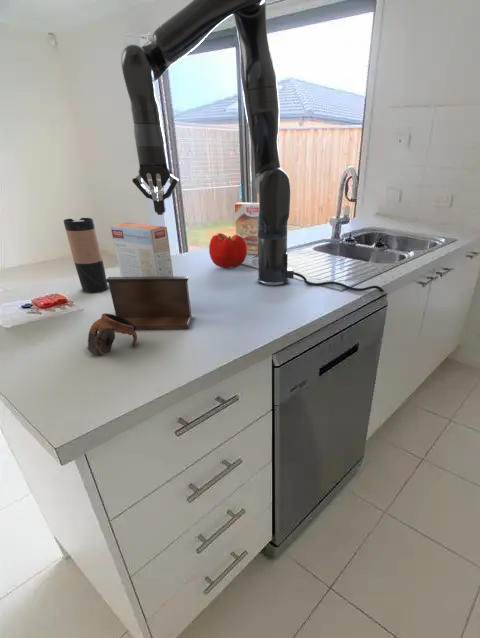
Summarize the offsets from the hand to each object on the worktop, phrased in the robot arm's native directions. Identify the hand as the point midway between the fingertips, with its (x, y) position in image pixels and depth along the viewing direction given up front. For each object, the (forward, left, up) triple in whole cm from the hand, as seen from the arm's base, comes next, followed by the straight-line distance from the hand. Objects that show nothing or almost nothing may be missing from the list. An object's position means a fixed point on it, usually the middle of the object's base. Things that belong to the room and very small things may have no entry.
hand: (160, 214), depth 108 cm
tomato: (-18, -22, -21) cm, 35 cm away
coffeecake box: (-28, -45, -21) cm, 57 cm away
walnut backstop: (-1, +33, -21) cm, 39 cm away
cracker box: (+2, +19, -21) cm, 29 cm away
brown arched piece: (+4, +46, -21) cm, 51 cm away
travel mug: (+22, +4, -21) cm, 31 cm away
